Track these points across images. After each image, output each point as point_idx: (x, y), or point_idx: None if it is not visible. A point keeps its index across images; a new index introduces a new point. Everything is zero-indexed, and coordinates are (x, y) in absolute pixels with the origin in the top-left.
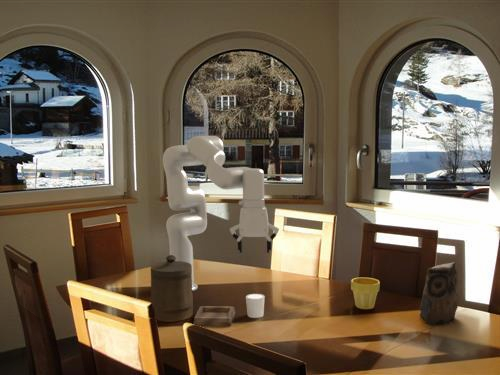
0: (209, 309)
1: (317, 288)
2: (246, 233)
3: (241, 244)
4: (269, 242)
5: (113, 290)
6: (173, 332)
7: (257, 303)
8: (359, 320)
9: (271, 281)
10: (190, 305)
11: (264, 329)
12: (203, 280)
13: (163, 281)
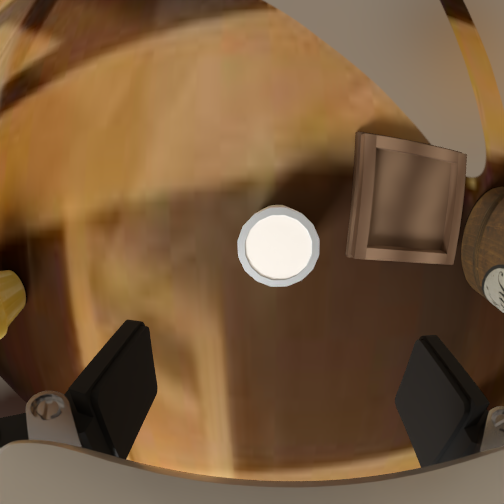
0: (427, 250)
1: None
2: (493, 501)
3: (454, 389)
4: (78, 399)
5: None
6: (488, 110)
7: (268, 207)
8: (15, 195)
9: (234, 472)
10: (486, 228)
11: (244, 99)
12: (392, 469)
13: None
